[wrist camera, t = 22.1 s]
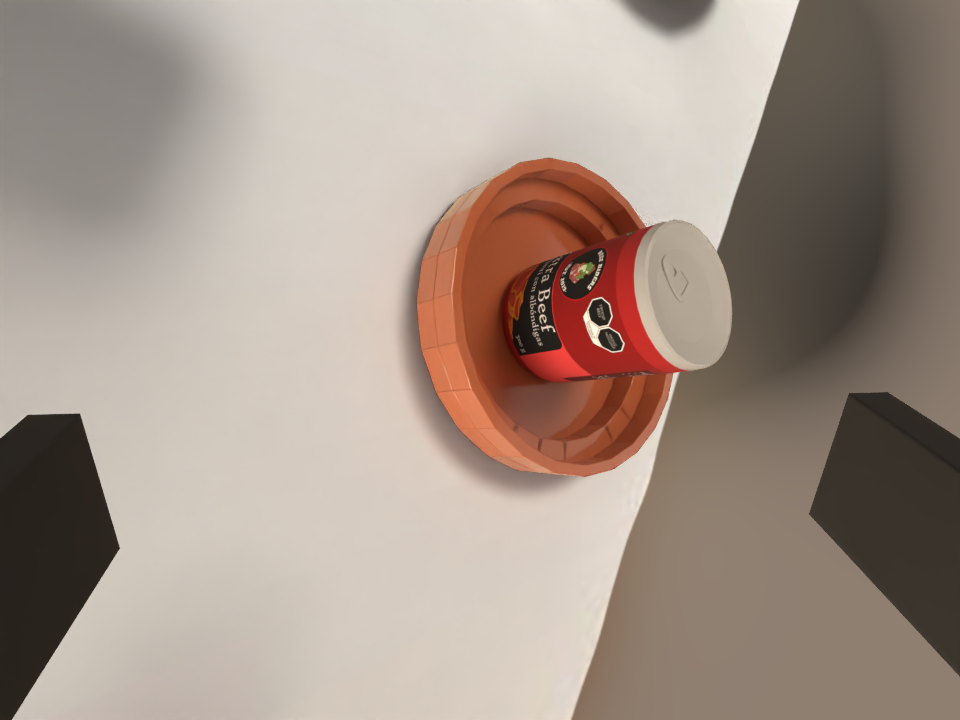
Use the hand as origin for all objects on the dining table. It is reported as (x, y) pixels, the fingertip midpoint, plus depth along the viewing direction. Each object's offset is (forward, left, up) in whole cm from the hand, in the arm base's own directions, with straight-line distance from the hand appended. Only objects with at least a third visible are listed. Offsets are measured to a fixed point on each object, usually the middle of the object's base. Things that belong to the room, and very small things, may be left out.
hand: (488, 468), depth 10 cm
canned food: (-5, +21, -20) cm, 29 cm away
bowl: (-5, +21, -20) cm, 29 cm away
